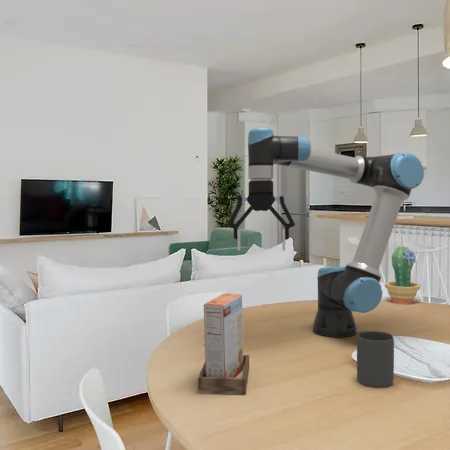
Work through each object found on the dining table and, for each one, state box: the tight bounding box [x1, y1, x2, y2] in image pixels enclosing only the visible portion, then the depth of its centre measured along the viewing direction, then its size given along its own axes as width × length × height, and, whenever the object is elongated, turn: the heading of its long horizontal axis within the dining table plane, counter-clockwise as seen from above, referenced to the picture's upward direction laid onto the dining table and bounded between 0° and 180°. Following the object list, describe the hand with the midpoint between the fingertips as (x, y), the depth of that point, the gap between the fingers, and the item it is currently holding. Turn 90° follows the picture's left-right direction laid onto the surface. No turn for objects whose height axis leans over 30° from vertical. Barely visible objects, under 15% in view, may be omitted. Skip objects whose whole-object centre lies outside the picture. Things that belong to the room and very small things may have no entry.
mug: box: [356, 330, 395, 388], centre depth 130 cm, size 14×9×12 cm
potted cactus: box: [384, 245, 421, 305], centre depth 222 cm, size 15×15×25 cm
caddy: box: [197, 354, 250, 395], centre depth 130 cm, size 12×19×4 cm, turn 174°
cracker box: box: [203, 292, 244, 378], centre depth 130 cm, size 14×6×21 cm, turn 159°
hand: (261, 250), depth 152 cm, fingers open, 13 cm apart
